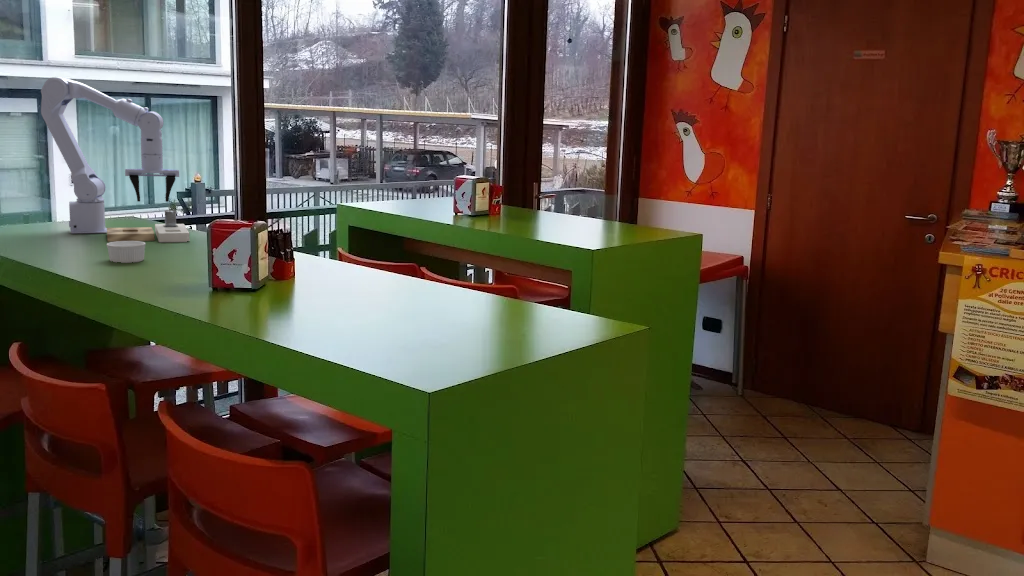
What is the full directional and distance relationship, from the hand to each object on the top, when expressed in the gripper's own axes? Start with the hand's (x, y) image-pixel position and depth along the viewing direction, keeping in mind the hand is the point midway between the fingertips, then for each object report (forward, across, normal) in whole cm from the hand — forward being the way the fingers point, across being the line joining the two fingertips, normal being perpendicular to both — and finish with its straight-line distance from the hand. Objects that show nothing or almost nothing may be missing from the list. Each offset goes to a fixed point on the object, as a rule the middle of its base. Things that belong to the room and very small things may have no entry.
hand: (153, 201), depth 264 cm
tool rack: (+9, +4, -8) cm, 13 cm away
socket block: (+9, -6, -8) cm, 14 cm away
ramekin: (+10, -8, -43) cm, 45 cm away
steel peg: (+9, +4, -3) cm, 11 cm away
